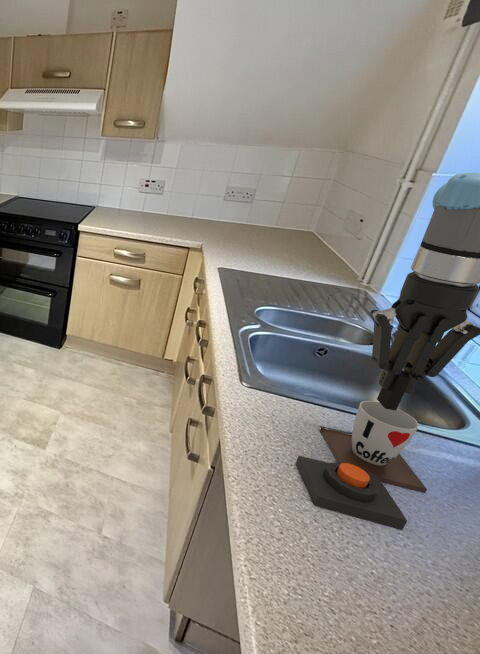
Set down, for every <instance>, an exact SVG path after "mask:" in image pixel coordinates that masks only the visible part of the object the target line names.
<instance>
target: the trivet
mask: <svg viewBox="0 0 480 654" xmlns="http://www.w3.org/2000/svg"><path fill="white" fill-rule="evenodd" d="M319 433H320V435H321V436H322V438H323V440H324V442H325V443H326V445H327V447H328V448H329V450H330V452H331V453H332V456H333V457H334V459H335V460H336V462H340V463H349V464H352V465H355V466H357V467H359V468H361V469H362V470H364V471H365V472H368V473H372V474H376V475H377V476H378V477H379V479H380V480H381V482H382V483H383V484H386V485H387V484H388V485H391V486H395V487H399V488H403V489H407V490H410V491H415V492H419V493H422V494H425V493H426V492H427V490H428V488H427V487H426V486H425V485H424V483H423V482H422V481H421V479H420V478H419V477H418V475H417V474H416V473H415V472H414V471H413V469H412V468H411V466H410V465H409V464H408V462H407V461H406V460H405V459H404V457H403V456H402V455H401V454H400V453H399V454H398V455H397V456H396V457H395V458H394V459H392V460H391V461H390V462H388V463H387V464H385V465H382V466H381V465H375V464H371V463H369V462H366V461H364V460H363V459H361V458H359V457H358V456H357V455H356V454H355V453H354V452H353V450H352V433H351V434H350V433H347V432H342V431H338V430H332V429H327V428H325V427H320V429H319Z"/></svg>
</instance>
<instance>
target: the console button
mask: <svg viewBox="0 0 480 654" xmlns="http://www.w3.org/2000/svg"><path fill="white" fill-rule="evenodd" d="M337 476H338V477H339V478H340V479H342V480H343V481H344V482H346V483H348V484H350V485H352V486H354V487H358V488H361V489H363V488H366V486H367V484H368V482H369V480H370V477H369V475H368V474H367V473H366V472H365V471H364V470H362V469H361V468H359V467H357V466H355V465H352V464H349V463H342V464H340V466H339V468H338V470H337Z"/></svg>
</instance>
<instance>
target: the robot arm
mask: <svg viewBox="0 0 480 654" xmlns="http://www.w3.org/2000/svg"><path fill="white" fill-rule="evenodd" d="M431 202H432V208H433V212H432V213H431V217H430V220H429V222H428V225H427V227H426V230H425V232H424V235H423V237H422V239H421V241H420V245H419V247H418V249H417V251H416V254H415V256H414V258H413V260H412V263H411V266H410V270H411V272H409V273H407V275H406V277H405V280H404V281H403V285H402V287H401V289H400V293H399V297H398V299H397V300H396V301H394V302H393V303H392V304H391V307H389V308H386V309H381V310H379V309H371V310H370V312H369V315H370V316H371V318H372V321H373V333H372V334H373V335H372V337H373V338H372V350H371V351H372V352H371V353H372V354H371V360H372V361H373V363H375V365H377V366H378V368H379V369H380V370H382V372H381V374H380V376H379V379H378V385H379V386H380V391H379V393H378V395H377V398H376V400H377V402H380V404H381V405H382V406H383V407H384V408H385V409H390V410H395V411H396V410H397V409H399V405H400V403H401V401H402V399H403V396H404V395H405V394H410V393H411V392H412V391H413V388H414V386H415V385H416V382H421V381H424V379H425V378H424V377H430V378H435V377H437V376H439V374H440V373H441V372H442V371H443V370H444V368H446V366H447V365H448V364H449V363H450V362H451V361H452V360H453V359H454V358H455V356H456V355H458V353H459V352H460V351H461V350H462V349H463V348H464V347H465V345H467V344H468V342H470V341H471V340H473V339H475V338H476V337H477V338H478V336H480V327H479V326H477V325H475V324H474V323H472V322H471V321H469V320H468V313H467V310H469V309H470V308H471V307H472V305H473V303H474V301H475V299H476V298H477V295H478V293H479V291H480V287H479V284H480V172H461V173H456V174H454V175H453V176H451V177H449V179H448V181H447V182H446V183H444V184H442V185H441V186H440V187H439V188H438V189H437V190H436V192H435V193H434V195H433V198H432V201H431ZM394 318H396V321H397V323H398V324H397V326H396V331H397V332H396V334H395V337H394V339H393V342H392V343H391V341H392V325H391V324H393V323H394Z"/></svg>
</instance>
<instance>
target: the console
mask: <svg viewBox="0 0 480 654" xmlns="http://www.w3.org/2000/svg"><path fill="white" fill-rule="evenodd" d="M340 464H342V463H340V462H337V461H334V462H327V461H323V460H318V459H316V458H311V457H308V456H307V457H306V456H303V455H297V459H296V462H295V466H296V468H297V470H298V473H299V475H300V478H301V480H302V482H303V484H304V487H305V488H306V490H307V493H308V495H309V497H310V500H311V502H312V504H313V506H314V507H317V508H322V509H325V510H328V511H332V512H335V513H340V514H343V515H347V516H350V517H353V518H357V519H361V520H365V521H368V522H371V523H375V524H378V525H382V526H386V527H390V528H393V529H396V530H399V531H403V530H404V528H405V526H406V524H407V523H408V519H407V518H406V516H405V515H404V513H403V512H402V510H401V509H400V508H399V506H398V505H397V503H396V502H395V499H394V498H393V497H392V496H391V494H390V492H389V491H388V489H387V488H386V487H385V485H384V483H383V482H381V480H380V479H379V477H378V476H377V475H376V474H372V473H368V472H366V473H367V474H368V475H369V477H370V480H369V482H368V484H367V486H366V488H363V489H361V488H358V487H354V486H352V485H350V484H348V483H346V482H344V481H343V480H342V479H340V478H339V477H338V476H337V470H338V468H339V466H340Z"/></svg>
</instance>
